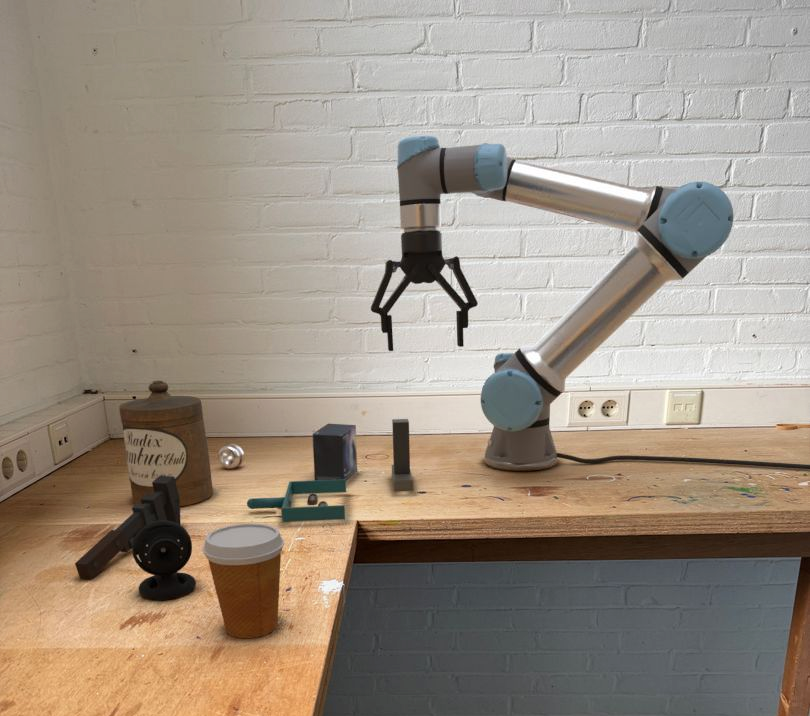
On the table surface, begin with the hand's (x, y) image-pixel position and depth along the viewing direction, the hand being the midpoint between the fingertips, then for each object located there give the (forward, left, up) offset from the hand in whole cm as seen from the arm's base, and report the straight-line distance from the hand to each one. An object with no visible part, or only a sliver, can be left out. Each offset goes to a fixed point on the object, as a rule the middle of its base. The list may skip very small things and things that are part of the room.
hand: (425, 348), depth 154 cm
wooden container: (+49, +9, -26) cm, 56 cm away
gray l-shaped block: (+6, +8, -25) cm, 27 cm away
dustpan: (+25, +21, -25) cm, 41 cm away
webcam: (+40, +55, -26) cm, 73 cm away
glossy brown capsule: (+20, +23, -24) cm, 39 cm away
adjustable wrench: (+49, +38, -26) cm, 67 cm away
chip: (+22, +18, -24) cm, 38 cm away
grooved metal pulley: (+41, -12, -26) cm, 50 cm away
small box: (+18, +1, -26) cm, 31 cm away
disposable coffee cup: (+27, +68, -26) cm, 77 cm away
